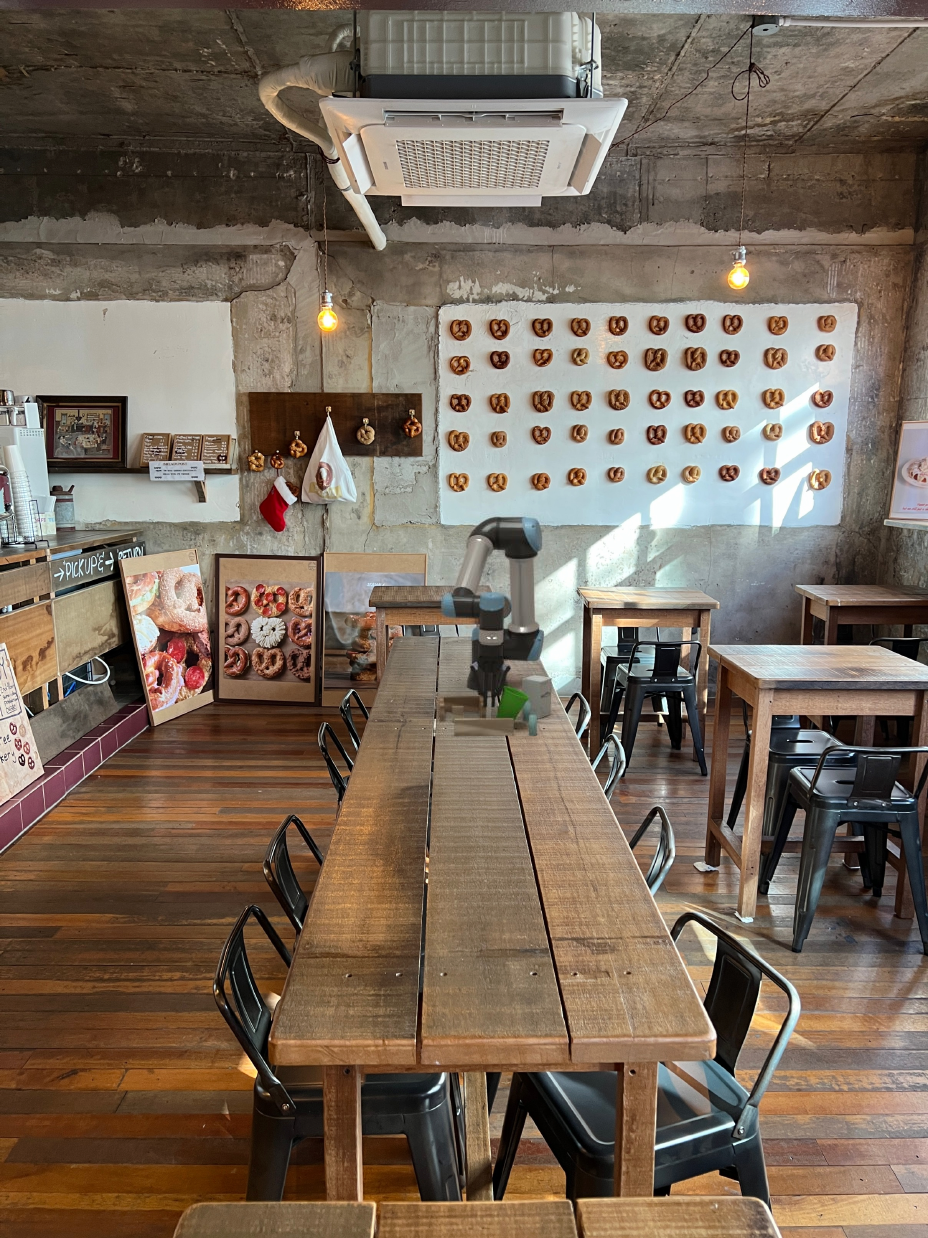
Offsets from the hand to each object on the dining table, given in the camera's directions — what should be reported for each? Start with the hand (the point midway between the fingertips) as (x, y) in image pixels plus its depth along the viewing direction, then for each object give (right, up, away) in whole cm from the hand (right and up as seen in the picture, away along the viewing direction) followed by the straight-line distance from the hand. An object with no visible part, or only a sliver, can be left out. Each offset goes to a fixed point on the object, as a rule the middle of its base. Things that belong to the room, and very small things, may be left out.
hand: (488, 717), depth 272 cm
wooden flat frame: (-4, -2, +7) cm, 9 cm away
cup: (+4, -2, +1) cm, 5 cm away
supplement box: (+16, -1, +16) cm, 23 cm away
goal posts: (+13, -3, +2) cm, 14 cm away
